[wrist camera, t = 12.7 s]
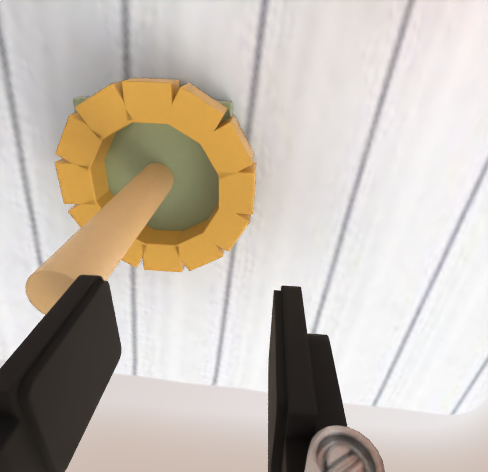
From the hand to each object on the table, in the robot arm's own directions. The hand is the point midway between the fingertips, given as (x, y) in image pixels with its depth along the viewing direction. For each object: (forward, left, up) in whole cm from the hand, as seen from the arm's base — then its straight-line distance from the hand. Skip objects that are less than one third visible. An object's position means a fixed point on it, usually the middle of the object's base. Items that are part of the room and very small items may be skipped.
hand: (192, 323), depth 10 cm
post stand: (-5, 0, -14) cm, 15 cm away
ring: (-4, 0, -13) cm, 13 cm away
